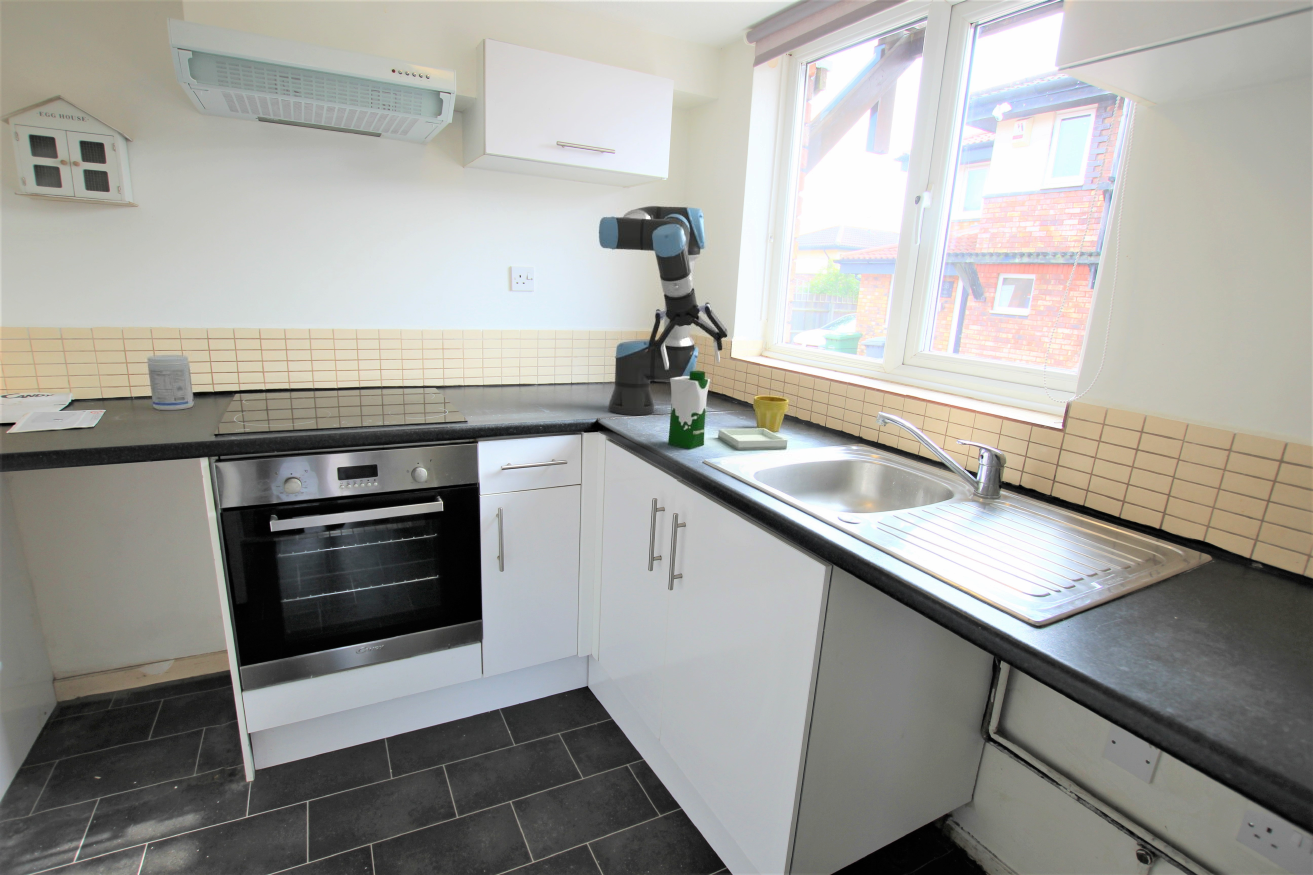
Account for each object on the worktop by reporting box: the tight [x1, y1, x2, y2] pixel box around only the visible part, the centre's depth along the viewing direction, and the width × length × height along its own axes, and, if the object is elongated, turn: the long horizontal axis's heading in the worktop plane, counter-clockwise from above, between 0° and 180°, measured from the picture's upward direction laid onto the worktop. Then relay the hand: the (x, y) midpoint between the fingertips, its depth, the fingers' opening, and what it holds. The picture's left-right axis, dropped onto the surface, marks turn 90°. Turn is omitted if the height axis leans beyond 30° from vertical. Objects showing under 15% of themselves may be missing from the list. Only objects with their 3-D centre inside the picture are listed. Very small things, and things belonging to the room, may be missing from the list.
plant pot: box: [752, 395, 789, 433], centre depth 198 cm, size 10×10×10 cm
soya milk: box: [667, 370, 711, 450], centre depth 173 cm, size 9×9×20 cm
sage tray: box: [717, 427, 788, 451], centre depth 181 cm, size 14×14×2 cm
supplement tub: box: [146, 354, 195, 411], centre depth 186 cm, size 10×10×15 cm
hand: (692, 363), depth 171 cm, fingers open, 13 cm apart
